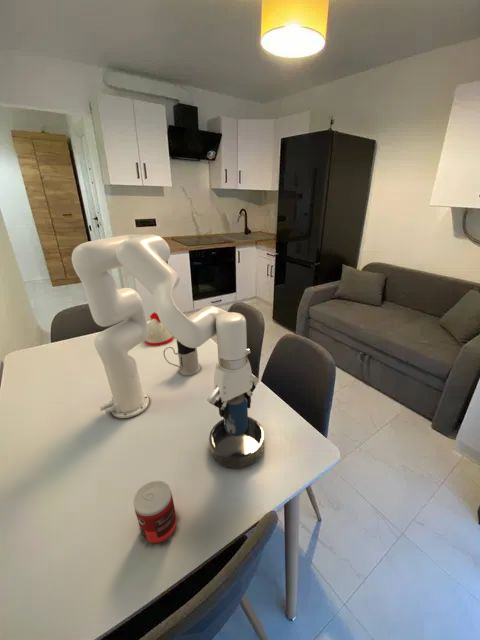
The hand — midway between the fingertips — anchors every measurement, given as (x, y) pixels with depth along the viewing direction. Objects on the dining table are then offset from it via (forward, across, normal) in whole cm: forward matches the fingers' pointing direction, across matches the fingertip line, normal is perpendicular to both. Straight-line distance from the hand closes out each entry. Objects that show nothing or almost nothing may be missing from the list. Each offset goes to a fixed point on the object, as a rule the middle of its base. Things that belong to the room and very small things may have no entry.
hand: (235, 410), depth 83 cm
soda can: (+7, 0, 0) cm, 7 cm away
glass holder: (+14, -2, -47) cm, 49 cm away
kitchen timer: (+14, -3, -82) cm, 83 cm away
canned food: (+14, +27, +9) cm, 32 cm away
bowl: (+14, 0, 0) cm, 14 cm away
